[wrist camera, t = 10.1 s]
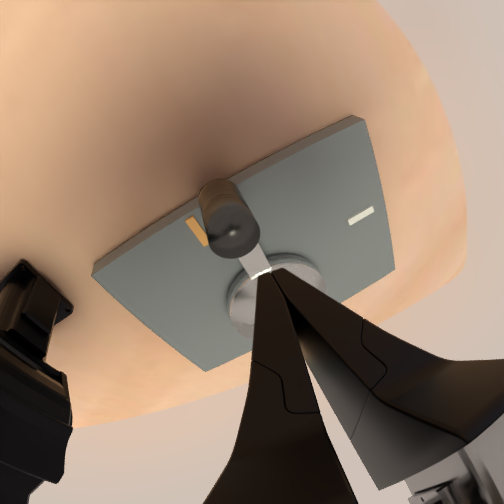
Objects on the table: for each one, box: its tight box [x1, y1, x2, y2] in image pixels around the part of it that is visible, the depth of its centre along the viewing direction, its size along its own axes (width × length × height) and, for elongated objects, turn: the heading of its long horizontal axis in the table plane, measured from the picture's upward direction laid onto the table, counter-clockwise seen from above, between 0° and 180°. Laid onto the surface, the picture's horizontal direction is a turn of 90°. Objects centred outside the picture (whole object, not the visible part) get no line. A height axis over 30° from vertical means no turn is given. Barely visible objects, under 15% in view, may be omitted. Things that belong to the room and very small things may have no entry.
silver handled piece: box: [199, 179, 327, 340], centre depth 20 cm, size 15×8×5 cm, turn 24°
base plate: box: [91, 115, 395, 372], centre depth 24 cm, size 22×16×2 cm
